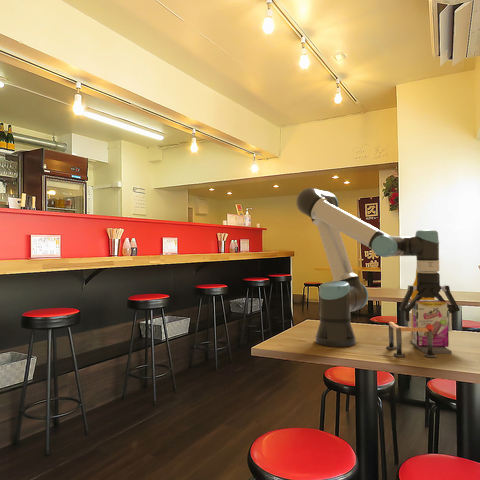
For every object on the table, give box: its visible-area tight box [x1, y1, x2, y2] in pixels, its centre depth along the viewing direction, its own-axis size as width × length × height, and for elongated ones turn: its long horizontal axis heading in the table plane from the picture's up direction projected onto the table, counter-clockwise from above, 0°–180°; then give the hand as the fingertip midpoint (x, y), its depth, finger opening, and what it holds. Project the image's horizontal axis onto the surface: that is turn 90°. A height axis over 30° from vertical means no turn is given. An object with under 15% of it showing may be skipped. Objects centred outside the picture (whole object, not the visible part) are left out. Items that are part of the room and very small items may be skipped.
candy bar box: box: [412, 299, 450, 348], centre depth 143 cm, size 11×5×16 cm, turn 85°
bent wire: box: [385, 321, 437, 359], centre depth 137 cm, size 14×14×11 cm
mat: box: [410, 340, 453, 354], centre depth 142 cm, size 9×15×1 cm, turn 173°
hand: (429, 330), depth 143 cm, fingers open, 13 cm apart
